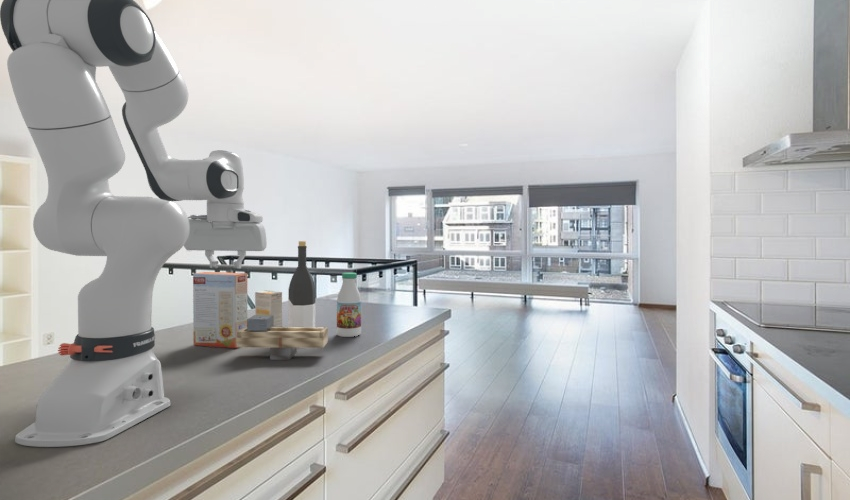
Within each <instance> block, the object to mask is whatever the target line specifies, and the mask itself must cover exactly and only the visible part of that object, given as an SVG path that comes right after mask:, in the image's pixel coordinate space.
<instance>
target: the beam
mask: <svg viewBox="0 0 850 500" xmlns="http://www.w3.org/2000/svg"><path fill="white" fill-rule="evenodd" d="M328 329H329V328H328V327H327V326H324V327H316V326H315V327H287V326H285V327H283V326H282V327H272V328H270V331H247V327H245V328H243V329H241V330H240V331H238V332H237V348H268V349H269V360H272V361H273V360H275V361H277V360H281V361H282V360H284V361H285V360H291V359H292V358H293V357H294V355H296V353H297V352H298V351H297V349H298V348H299V349H300V348H302V349H303V348H304V349H305V348H306V349H307V348H309V349H312V348H314V349H315V348H321V349H324V347H325V346H326V345H327V343H328V341H329V338H328V334H329V330H328Z"/></svg>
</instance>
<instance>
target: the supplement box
mask: <svg viewBox="0 0 850 500" xmlns="http://www.w3.org/2000/svg"><path fill="white" fill-rule="evenodd" d="M254 309H255V311H254V312H255V313H254V315H274V326H273V327H283V292H282V291H275V290H265V289H264V290H258V291H255V292H254Z"/></svg>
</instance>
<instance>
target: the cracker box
mask: <svg viewBox="0 0 850 500" xmlns="http://www.w3.org/2000/svg"><path fill="white" fill-rule="evenodd" d="M192 284H193V285H192V286H193V290H192V292H193V293H192V297H193V298H192V302H193V305H192V308H193V309H192V310H193V311H192V313H193V324H192V325H193V333H192V335H193V346H200V347H215V348H225V349H237V348H238V347H237V332H238V331H240V330H241V329H243V328H245V327H247V319H248V273H246V272H224V271H223V272H222V271H221V272H219V271H202V272H201V271H200V272H196V273H193V275H192Z"/></svg>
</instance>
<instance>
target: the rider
mask: <svg viewBox="0 0 850 500" xmlns="http://www.w3.org/2000/svg"><path fill="white" fill-rule="evenodd" d="M273 326H274V315H255V314H254V315H252V316H251V317H249V318H248V317H247V331H270V328H272V327H273Z"/></svg>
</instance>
